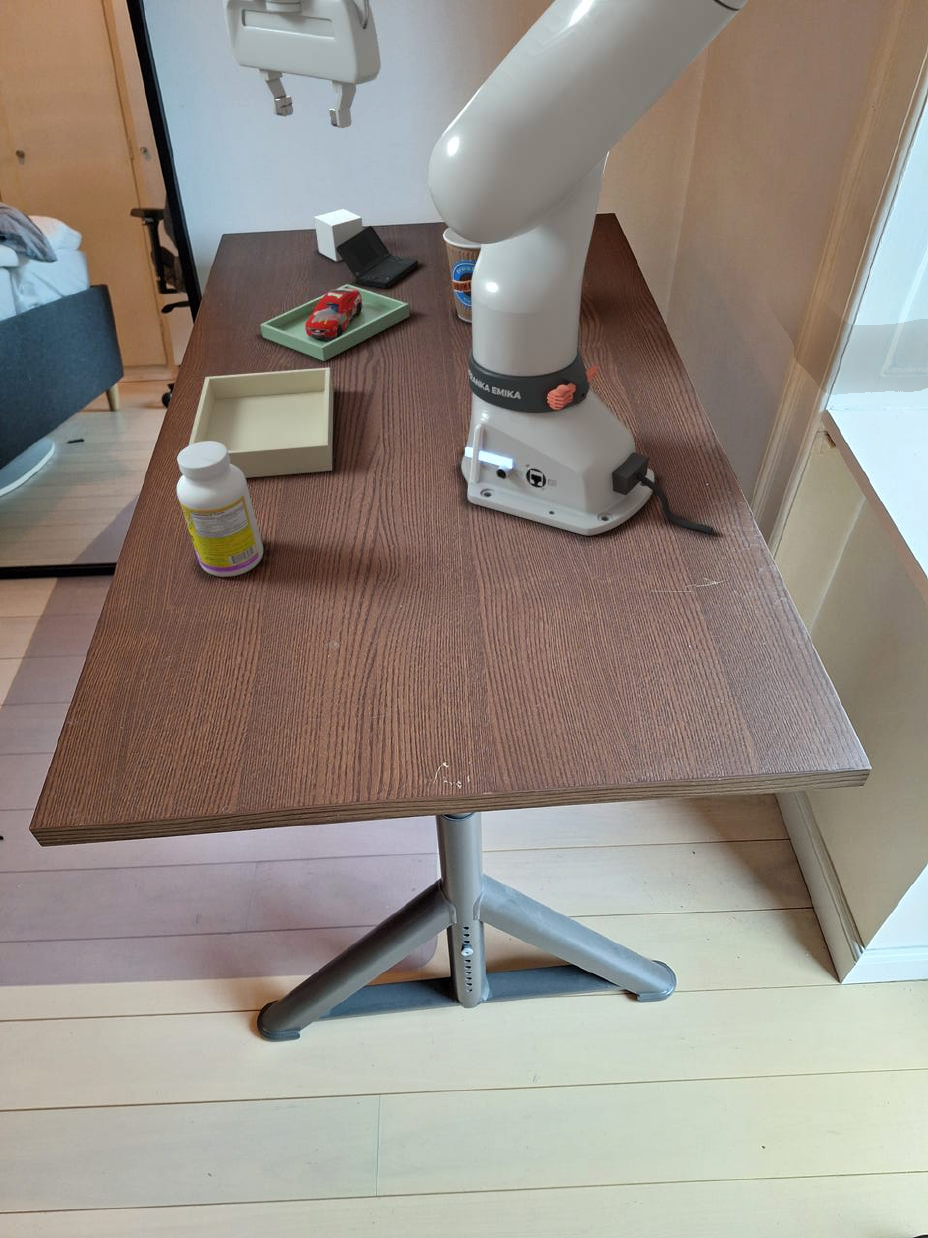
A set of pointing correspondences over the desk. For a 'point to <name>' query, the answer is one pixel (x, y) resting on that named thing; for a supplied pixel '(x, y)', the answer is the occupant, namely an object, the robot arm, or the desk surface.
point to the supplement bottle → (218, 510)
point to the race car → (334, 313)
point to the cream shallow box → (269, 420)
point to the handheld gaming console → (373, 260)
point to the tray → (371, 321)
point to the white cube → (336, 231)
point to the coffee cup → (461, 270)
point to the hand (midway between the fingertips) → (312, 120)
